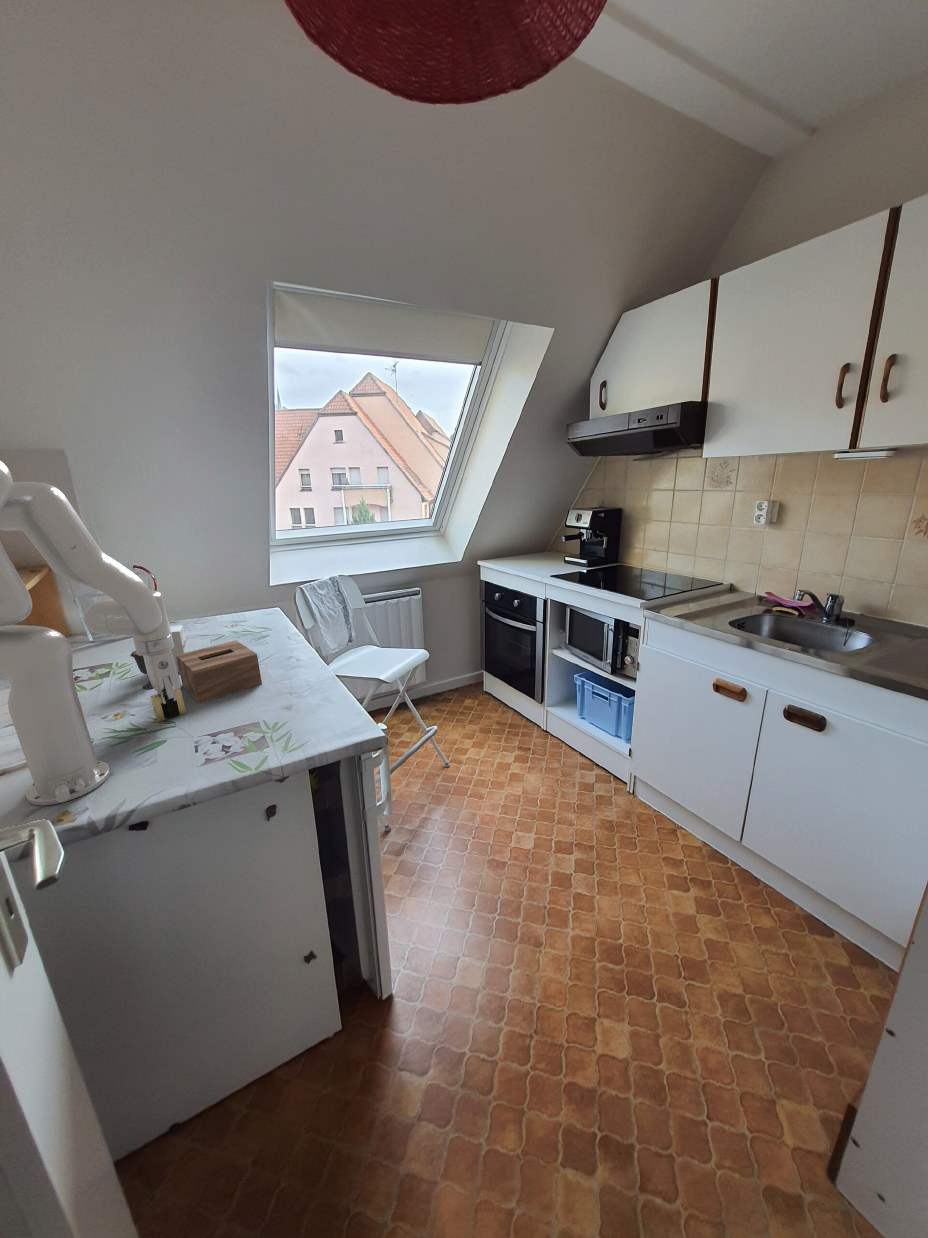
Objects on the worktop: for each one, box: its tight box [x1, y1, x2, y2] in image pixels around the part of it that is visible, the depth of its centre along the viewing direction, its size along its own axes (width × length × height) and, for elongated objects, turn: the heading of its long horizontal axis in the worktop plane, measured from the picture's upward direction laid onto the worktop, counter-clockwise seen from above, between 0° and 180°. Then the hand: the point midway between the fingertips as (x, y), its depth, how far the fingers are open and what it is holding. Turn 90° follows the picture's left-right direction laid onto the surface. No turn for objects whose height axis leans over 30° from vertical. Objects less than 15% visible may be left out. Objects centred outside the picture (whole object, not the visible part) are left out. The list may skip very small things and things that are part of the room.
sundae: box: [129, 649, 154, 690], centre depth 132 cm, size 7×7×15 cm
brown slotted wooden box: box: [176, 640, 263, 704], centre depth 132 cm, size 16×16×9 cm
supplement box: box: [169, 624, 189, 673], centre depth 144 cm, size 7×7×13 cm
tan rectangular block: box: [150, 688, 187, 722], centre depth 116 cm, size 2×6×6 cm, turn 133°
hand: (170, 714), depth 117 cm, fingers closed on tan rectangular block, 2 cm apart
